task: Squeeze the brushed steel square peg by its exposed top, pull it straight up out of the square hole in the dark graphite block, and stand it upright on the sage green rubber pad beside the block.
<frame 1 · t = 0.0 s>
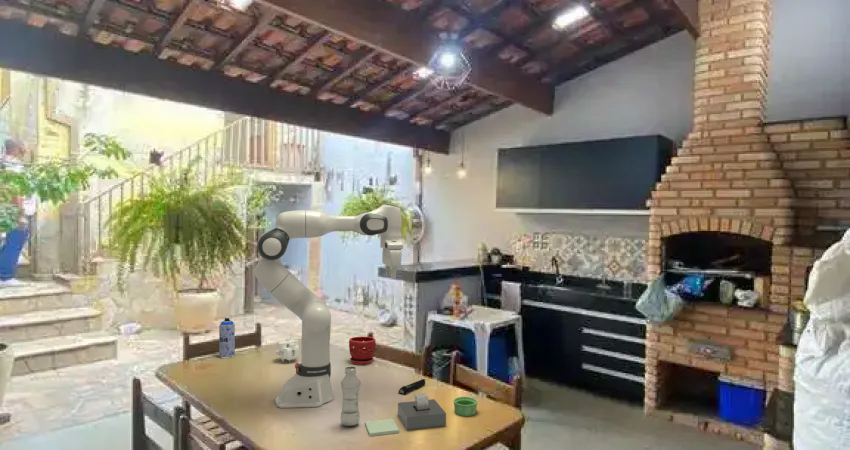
hand: (390, 276, 209), 48 cm above the table, tool pointing down, fingers open, 8 cm apart
sage pad: (381, 428, 173), on the table
plastic bottle: (350, 425, 176), on the table
mechanical part: (287, 361, 253), on the table
electric trimmer: (412, 390, 212), on the table
ramekin: (465, 412, 188), on the table
aerosol can: (227, 356, 261), on the table
steel peg: (421, 408, 180), in the socket block
plant pot: (362, 362, 251), on the table
socket block: (421, 420, 180), on the table
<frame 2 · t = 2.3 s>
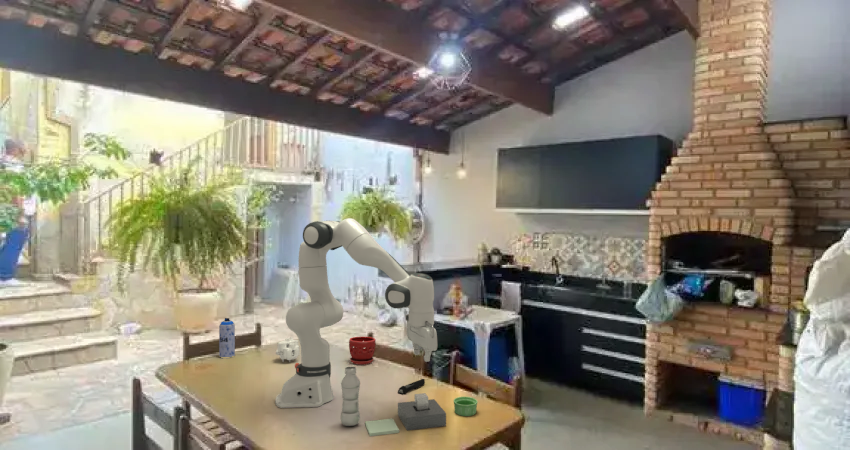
hand: (421, 357, 180), 23 cm above the table, tool pointing down, fingers open, 8 cm apart
nothing on the table moved.
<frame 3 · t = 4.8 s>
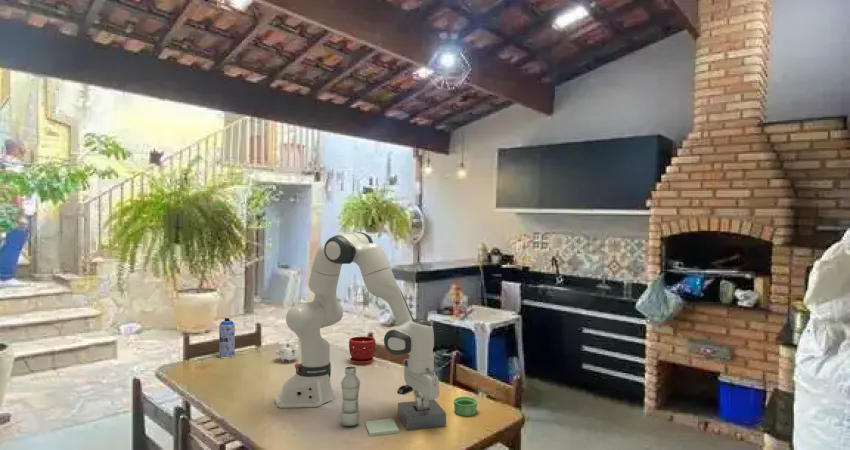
hand: (421, 403, 180), 6 cm above the table, tool pointing down, fingers closed on steel peg, 4 cm apart
steel peg: (421, 407, 180), in the socket block, touching gripper
everything else where it was.
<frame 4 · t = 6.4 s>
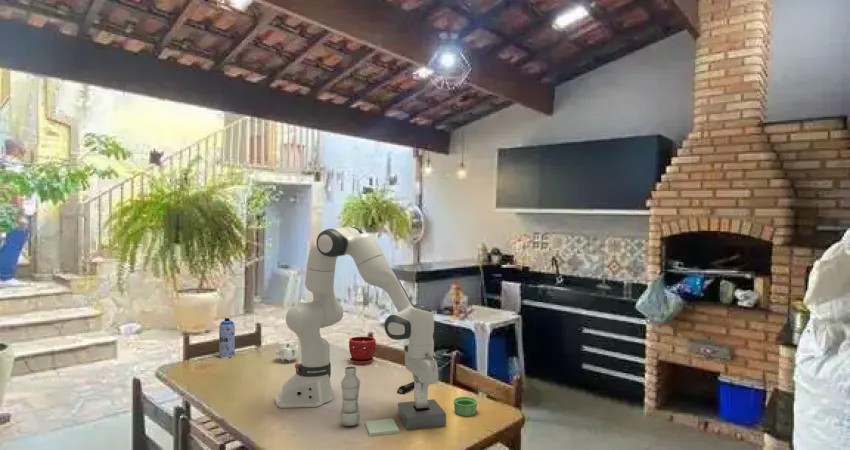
hand: (420, 388, 180), 11 cm above the table, tool pointing down, fingers closed on steel peg, 4 cm apart
steel peg: (420, 393, 180), point 10 cm above the table, touching gripper
everything else where it was.
when the fingers open (9 cm above the table, at t = 12.7 s): steel peg drops 1 cm, resting on sage pad.
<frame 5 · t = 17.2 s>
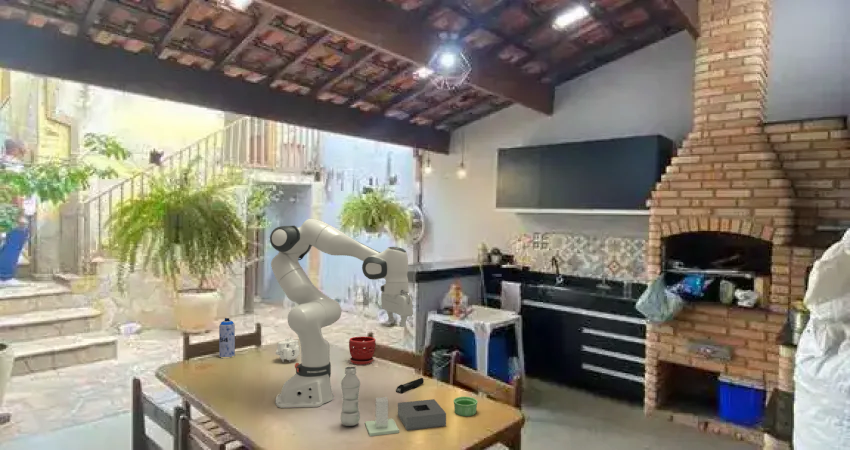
hand: (396, 324, 195), 31 cm above the table, tool pointing down, fingers open, 8 cm apart
steel peg: (381, 412, 173), on the sage pad, point 6 cm above the table
at the end: steel peg inside the target area (0.1 cm from its centre), point 5.5 cm above the table; steel peg tilted 0°; the gripper is holding nothing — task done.
